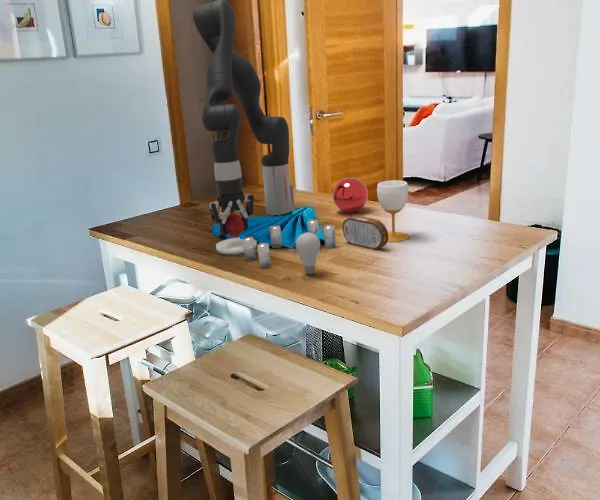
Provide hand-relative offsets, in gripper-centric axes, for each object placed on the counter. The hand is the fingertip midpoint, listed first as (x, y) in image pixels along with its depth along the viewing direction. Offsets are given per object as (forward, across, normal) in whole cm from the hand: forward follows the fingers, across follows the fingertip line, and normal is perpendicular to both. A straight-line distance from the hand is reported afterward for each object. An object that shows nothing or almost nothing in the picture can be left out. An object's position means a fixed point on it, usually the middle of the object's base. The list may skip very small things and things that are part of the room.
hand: (234, 232), depth 176 cm
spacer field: (+5, -9, +16) cm, 19 cm away
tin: (+5, -27, +26) cm, 38 cm away
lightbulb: (+5, -3, +34) cm, 34 cm away
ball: (+5, -47, -4) cm, 47 cm away
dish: (+5, 0, 0) cm, 5 cm away
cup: (+5, -38, +26) cm, 47 cm away
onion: (+2, 0, 0) cm, 2 cm away
